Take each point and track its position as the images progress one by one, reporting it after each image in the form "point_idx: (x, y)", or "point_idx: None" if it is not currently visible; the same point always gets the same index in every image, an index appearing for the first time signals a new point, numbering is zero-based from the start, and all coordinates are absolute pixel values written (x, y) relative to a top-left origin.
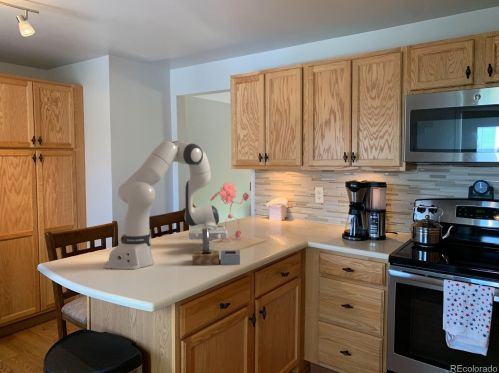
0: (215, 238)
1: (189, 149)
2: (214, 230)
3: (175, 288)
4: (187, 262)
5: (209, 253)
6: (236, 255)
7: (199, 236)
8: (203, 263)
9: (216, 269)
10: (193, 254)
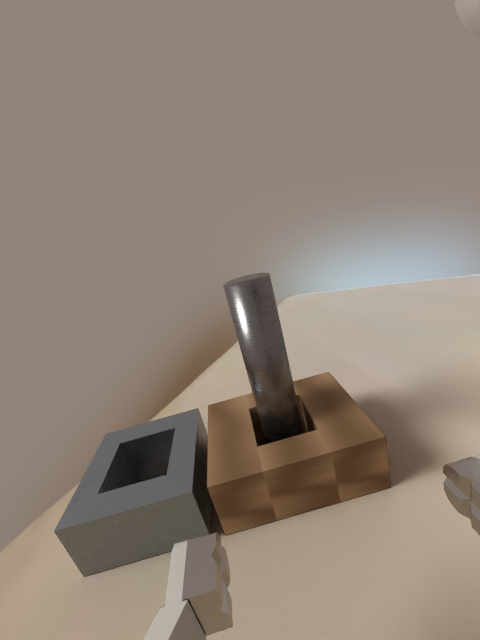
0: (225, 553)
1: None
2: None
3: (284, 316)
4: (397, 438)
5: (261, 424)
6: (123, 431)
7: (446, 465)
8: None
9: (223, 399)
10: (336, 384)
